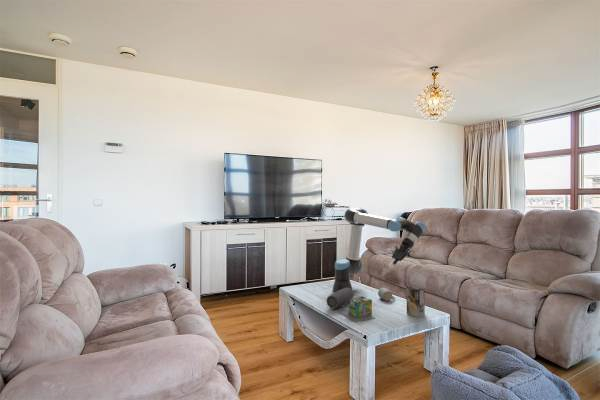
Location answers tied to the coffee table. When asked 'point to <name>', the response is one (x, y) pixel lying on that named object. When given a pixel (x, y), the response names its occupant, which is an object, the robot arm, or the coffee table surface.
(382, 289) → the ceramic mug
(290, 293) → the coffee table surface
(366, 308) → the chalk box
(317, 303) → the coffee table surface
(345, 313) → the mat
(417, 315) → the coffee box
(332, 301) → the bluetooth speaker
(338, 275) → the robot arm
